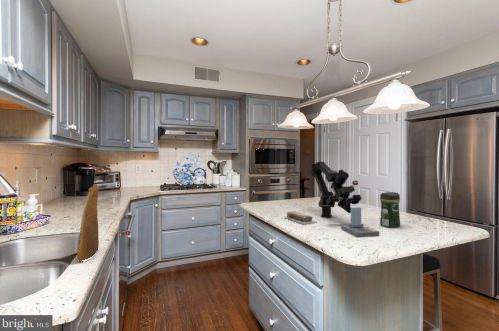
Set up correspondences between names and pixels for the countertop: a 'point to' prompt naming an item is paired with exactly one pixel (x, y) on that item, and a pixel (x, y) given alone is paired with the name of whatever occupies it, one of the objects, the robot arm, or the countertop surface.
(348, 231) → the switch box
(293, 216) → the packaged product
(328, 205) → the robot arm
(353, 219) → the switch lever
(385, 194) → the coffee jar
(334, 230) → the countertop surface
